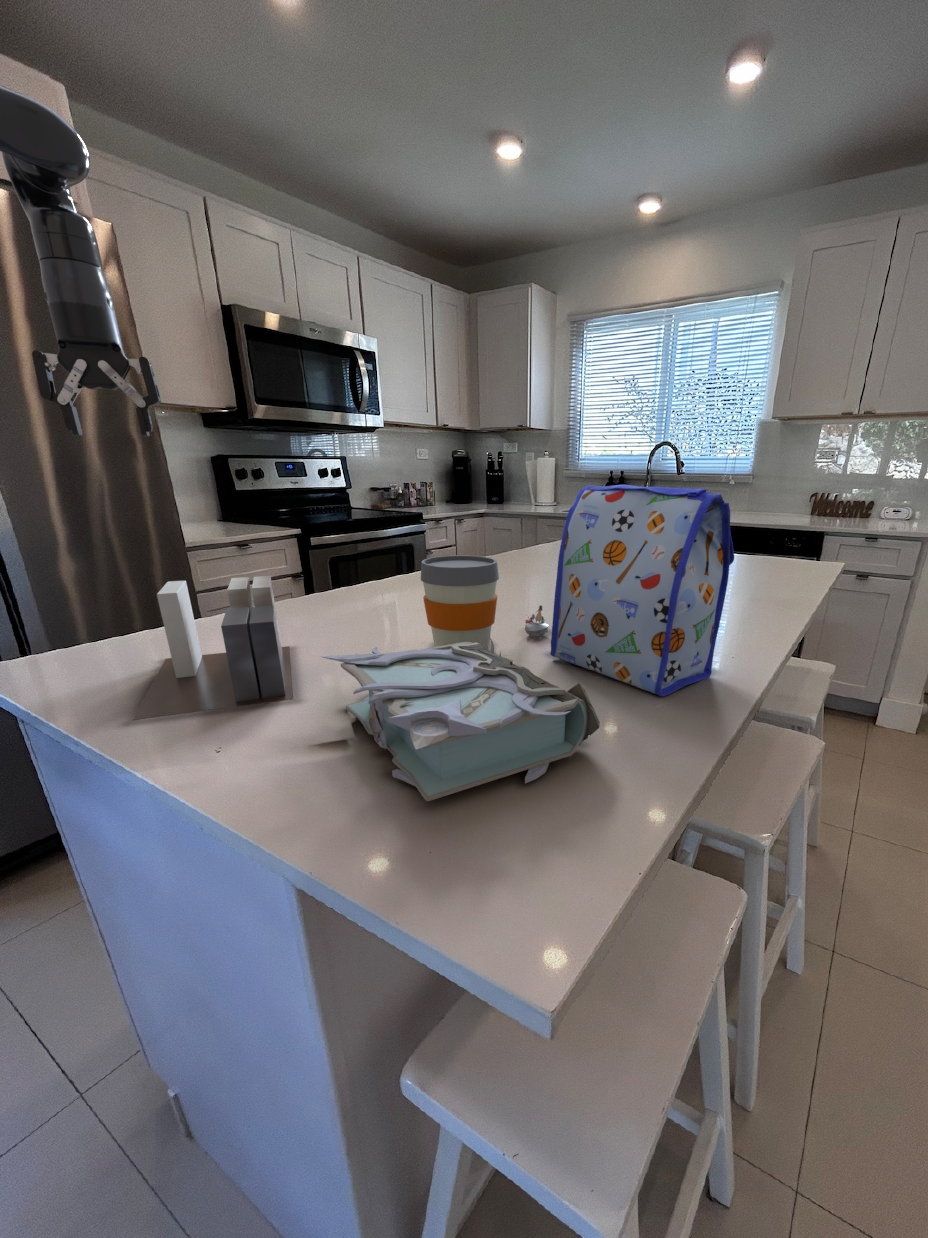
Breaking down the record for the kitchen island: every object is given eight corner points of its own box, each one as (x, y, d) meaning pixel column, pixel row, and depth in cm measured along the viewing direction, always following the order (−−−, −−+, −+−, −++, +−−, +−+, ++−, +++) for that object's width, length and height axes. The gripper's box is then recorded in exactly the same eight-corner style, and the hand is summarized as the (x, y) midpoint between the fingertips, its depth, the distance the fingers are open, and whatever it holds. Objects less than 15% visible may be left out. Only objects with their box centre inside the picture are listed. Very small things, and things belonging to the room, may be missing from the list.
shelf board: (134, 729, 67) (104, 621, 62) (167, 665, 88) (147, 581, 83) (295, 707, 73) (279, 607, 68) (290, 653, 94) (278, 573, 89)
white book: (176, 678, 79) (156, 594, 75) (184, 659, 87) (167, 581, 83) (195, 676, 80) (176, 592, 76) (202, 657, 88) (185, 580, 84)
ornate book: (609, 769, 61) (475, 676, 84) (618, 687, 57) (474, 613, 80) (414, 838, 49) (320, 708, 72) (408, 741, 46) (311, 637, 69)
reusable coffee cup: (409, 653, 94) (402, 562, 88) (456, 636, 104) (453, 552, 98) (468, 668, 87) (466, 570, 82) (513, 647, 97) (514, 559, 92)
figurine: (539, 642, 100) (540, 609, 98) (518, 638, 102) (518, 606, 100) (553, 635, 104) (554, 603, 102) (533, 631, 106) (533, 600, 104)
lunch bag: (726, 673, 86) (755, 486, 76) (666, 702, 75) (690, 490, 65) (607, 640, 101) (617, 482, 91) (543, 661, 91) (547, 484, 81)
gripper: (147, 317, 83) (171, 437, 89) (28, 307, 78) (62, 435, 84) (136, 305, 77) (163, 435, 83) (6, 293, 72) (45, 433, 78)
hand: (112, 435), depth 83 cm, fingers open, 8 cm apart
